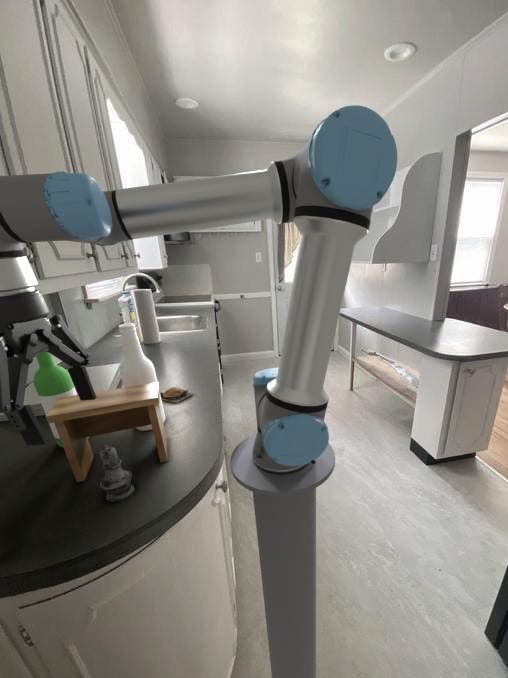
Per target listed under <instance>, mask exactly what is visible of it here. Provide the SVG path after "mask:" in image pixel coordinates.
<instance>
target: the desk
mask: <svg viewBox="0 0 508 678" xmlns="http://www.w3.org/2000/svg"><path fill="white" fill-rule="evenodd" d="M94 392H95V394H96V397H97V398H96V399H95V400H82V401H81V400H80V398H79V396H78V394H77V395H74V396H68V397H61V398H59V400H58V401H57V402H56V404H55V405H54V406H53V408H52V409H51V410H50V412H49V413H48V414H47V416H46V415H45V419H46V421H47V423H48V424H47V425H49V423H54V424H55V426H56V429H57V432H58V434H59V437H60V439H61V442H62V445H63V447H64V448H63V447H62V448H63V450H64V453H65V455H66V458H67V460H68V463H69V466H70V468H71V471H72V473H73V475H74V478H75V481H76V483H82V482H85V481H86V479H87V477H88V473H89V470H90V468H91V465H92V462H93V459H94V453H93V450H92V448H91V444H90V441H89V438H90V437H95V436H100V435H107V434H111V433H115V432H120V431H125V430H131V429H137V428H136V427H141V426H146V425H152V432H153V437H154V441H155V445H156V450H157V453H158V458H159V461H160V463H165V462H168V461H169V460H168V458H169V457H168V438H167V434H166V429H165V424H164V423H163V420H162V415H161V411H160V407H159V394H160V393H161V391H160V383H159V381H157V382H156V383H150V384H144V385H137V386H131V387H125V388H124V387H119V388H113V389H106V390H101V391H94ZM87 437H89V438H87Z"/></svg>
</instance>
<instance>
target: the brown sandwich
mask: <svg viewBox="0 0 508 678" xmlns="http://www.w3.org/2000/svg"><path fill="white" fill-rule="evenodd" d="M160 396H161V400H162V401H165V402H171V403H175V404H179V403H180V402H182V401H184V400H186V399H188V398H189V397H191V396H194V394H193V393H192V392H190V391H189V390H185V389H183V388H182V387H177V386H172V387H169V388H168V389H166V390H165V391H164V392H163V391H160Z"/></svg>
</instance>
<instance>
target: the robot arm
mask: <svg viewBox="0 0 508 678" xmlns="http://www.w3.org/2000/svg"><path fill="white" fill-rule="evenodd" d="M397 169H398V149H397V143H396V139H395V136H394V135H393V134H392V131H391V129H390V127H389V124H388V123H387V122H386V120H385V119H384V118H383V117H382V116H381V115H380V114H379V113H378V112H376V111H375V110H374V109H371V108H370V107H367V106H363V105H359V104H357V105H355V104H352V105H345V106H342V107H340V108H337V109H336V110H334V111H332V113H330V114H329V115H328V116H327V117H325V118H324V119H323V120H321V121H320V123H319V124H317V126H316V127H315V129H314V130H313V132H312V134H311V137H310V139H309V140H308V141H307V143H306V144H305V146H304V147H303V149H302V150H301V151H300V152H299V153H297V154H295V155H294V156H292V157H289V158H285V159H282V160H275V161H271V162H270V163H269V164H268V166H267V167H266V169H263V170H261V169H260V170H255V171H246V172H240V173H233V174H224V175H218V176H217V175H216V176H209V177H201V178H193V179H186V180H179V181H172V182H164V183H157V184H156V183H155V184H149V185H142V186H140V185H139V186H134V187H133V186H132V187H127V188H118V189H115V190H105V191H104V190H103V188H102V187H100V185H99V184H98V181H97V180H96V179H95V178H94V177H93V176H91V175H89V174H87V173H83V172H82V173H81V172H66V171H56V172H51V173H49V172H48V173H29V174H11V175H0V414H5V416H6V418H7V420H8V421H9V423H10V425H11V427H12V428H13V430H15V431H18V432H19V433H20V435H21V437H22V438H23V440H24V442H25V443H26V446H39V445H40V446H41V445H46V444H47V443H48V442H49V440H48V437H47V436H46V434H45V431H44V430H43V428H42V426H41V424H40V422H39V420H38V419H37V416H36V415H35V413H34V410H33V409H32V406H31V404H24V403H25V395H26V389H27V381H28V375H29V368H30V365H31V364H32V363H33V361H34V358H36V356H38V355H39V354H40V353H41V352H46V351H47V352H49V353H50V354H51V355H52V356H54V357H55V358H56V359H58V360H60V361H62V362H63V363H64V364H66V365H68V366H69V368H68V369H67V372H68V373H69V375H70V377H71V379H72V382H73V385H74V387H75V390H76V393H77V395H78V396H79V398H80V400H81V401H82V400H95V399H96V398H97V397H96V394H95V392H96V391H95V390H94V387H93V385H92V382H91V378H90V374H89V372H88V370H87V367H86V366H90V365H91V360H90V359H91V353H90V352H89V351H88V350H87V349H86V348H85V346H84V345H83V344H82V343H81V342H80V341H79V339H78V338H77V337H76V336H75V334H74V333H73V332H72V331H71V330H70V329H69V327H68V326H67V324H66V323H65V320H64V319H63V316H62V315H61V314H50V309H49V307H48V305H47V303H46V300H45V297H44V295H43V293H42V291H40V290H39V289H36V287H37V286H38V284H39V282H38V280H37V278H36V275H35V273H34V271H33V268H32V266H31V264H30V261H29V259H28V257H27V256H26V252H25V251H24V248H23V245H22V244H30V243H42V242H43V243H44V242H45V243H46V242H74V243H82V244H83V243H84V244H91V245H96V246H100V247H107V246H114V245H117V244H119V243H120V242H129V241H132V240H133V241H134V240H138V239H145V238H146V239H147V238H152V237H159V236H165V235H172V234H179V233H186V232H193V231H200V230H206V229H213V228H220V227H227V226H233V225H240V224H246V223H255V222H261V221H267V220H272V221H274V222H275V223H276V224H277V225H282V224H290V223H291V224H292V223H293V224H294V225H295V227H296V228H297V230H298V233H299V235H300V237H299V244H298V250H297V254H296V255H297V256H296V262H295V268H294V274H293V280H292V285H291V292H290V298H289V304H288V310H287V316H286V322H285V327H284V333H283V339H282V346H281V351H280V357H279V362H278V363H279V364H278V366H277V367H272V368H265V369H262V370H259V371H257V372H256V373H255V374H254V375H253V377H252V379H253V381H252V382H253V383H252V387H253V394H254V406H255V416H256V417H255V418H256V428H257V432H256V433H257V435H256V438H255V442H254V445H253V450H252V456H253V462H254V464H255V465H256V466H257V467H258V468H259V469H261V470H262V471H265V472H267V473H271V474H290V473H294V472H297V471H300V470H302V469H304V468H305V467H306V466H307V465H308V464H309V463H310V462H311V463H312V464H313V465H314V464H315V463H316V461H315V460H314V459H317V458H318V457H319V456H320V455H321V454H322V453H323V452H324V451H325V449H326V447H327V445H328V443H330V442H329V441H330V434H329V428H328V425H327V424H326V422H325V419H326V418H325V417H326V413H327V409H328V405H329V400H330V395H329V392H328V391H327V389H326V388H325V387H324V385H325V380H326V376H327V371H328V366H329V363H330V358H331V355H332V354H331V353H332V349H333V346H334V345H333V344H334V340H335V336H336V332H337V328H338V327H337V326H338V322H339V318H340V314H341V310H342V304H343V301H344V296H345V292H346V287H347V282H348V279H349V275H350V270H351V265H352V261H353V256H354V253H355V247H356V245H357V244H358V243H359V242H360V241H361V240H363V239H364V238H365V237H366V236H367V235H369V232H370V227H371V223H372V219H373V215H374V212H375V207H376V205H377V204H378V203H380V202H381V201H382V199H384V197H385V196H386V194H387V193H388V192H389V190H390V188H391V187H392V184H393V182H394V180H395V178H396V174H397ZM11 400H12V401H11Z"/></svg>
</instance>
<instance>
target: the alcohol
mask: <svg viewBox="0 0 508 678" xmlns="http://www.w3.org/2000/svg"><path fill="white" fill-rule="evenodd" d="M118 329H119V330H118V332H119V333H120V339H121V345H122V351H123V355H124V356H123V361H122V362H121V364H120V366H119V375H120V378H121V383H122V388H125V387H131V386H137V385H144V384H150V383H156V382H158V377H157V373H156V368H155V366H154V363H153V362H152V361H151V360H150V359H149V358H148V357H146V356H145V354H144V352H143V348H142V347H141V343H140V339H139V336H138V333H137V328H136V324H134V323H133V322H131V323H122V324H119V325H118ZM159 407H160V411H161V415H162V420H163V424H164V423H165V421H166V415H165V414H166V413H165V410H164V405H163V400H161V396H160V394H159ZM135 429H137V430H138V431H153V429H152V425H146V426H141V427H136V428H135Z"/></svg>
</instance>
